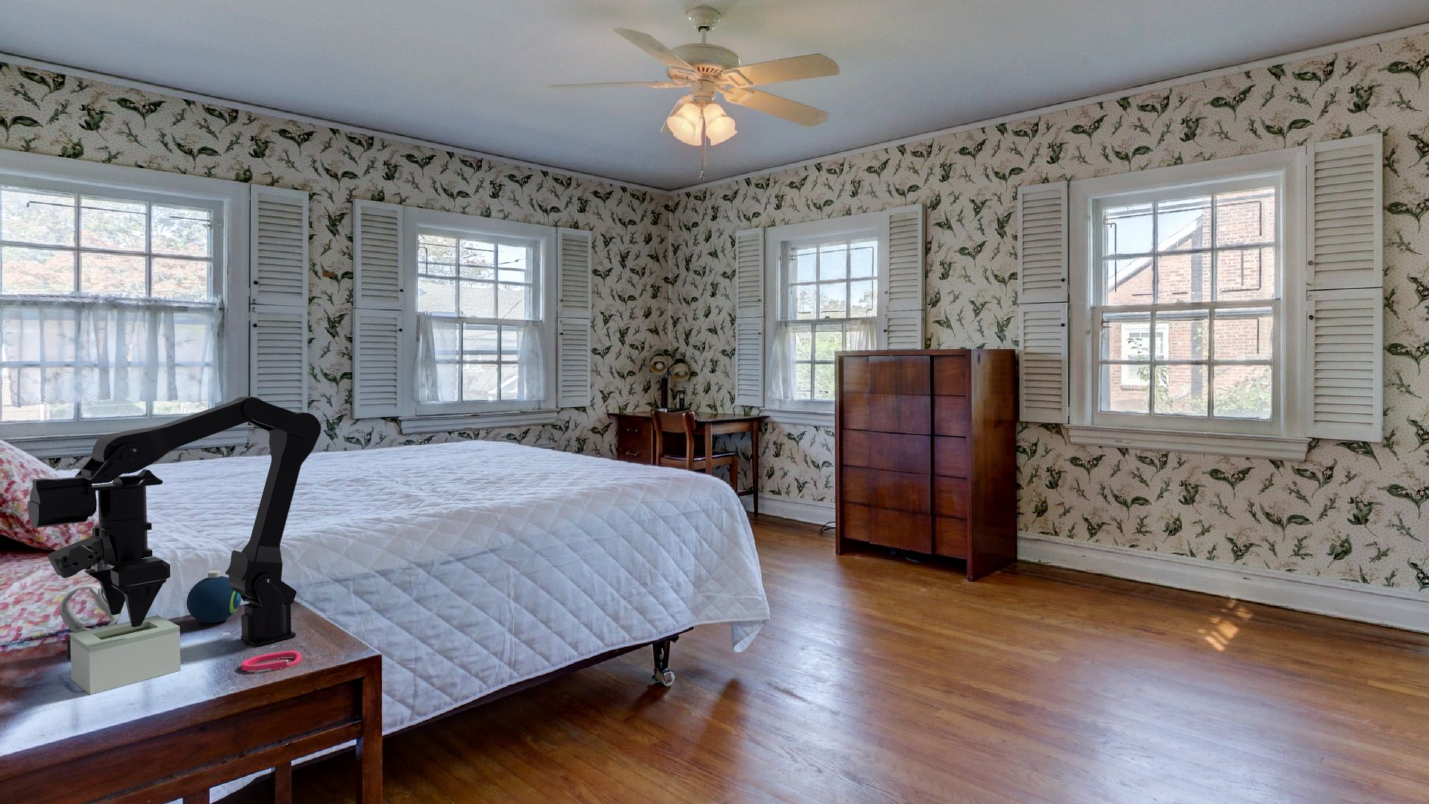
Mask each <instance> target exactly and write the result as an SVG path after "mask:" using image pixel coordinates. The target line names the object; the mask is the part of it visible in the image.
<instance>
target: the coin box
mask: <svg viewBox="0 0 1429 804" xmlns="http://www.w3.org/2000/svg"><path fill="white" fill-rule="evenodd" d="M96 628H97V629H92V630H87V631H83V632H78V633H76V632H72V633H70V634H69V636H70V643H71V659H70V667H71V668H70V670H71V673H70V674H71V681H73V682H74V683H75V684H76V685H78V686H79V687H80V688H82V690H84V691H85V692H87V694H89V695H95V694H98V693H102V692H105V691H110V690H113V689H117V688H120V687H124V686H128V685H132V684H136V683H138V682H139V683H140V682H142V681H147V680H151V679H153V678H157V677H161V676H165V675H170V674H173V673H176V672H181V670H182V668H181V667H182V666H181V637H180V636H181V631H180V630H181V628H180V625H178V624H176V623H174V622H171V621H170V620H168V619H166V618H164V617H162V616H160V615H154V616H150V617H149V616H148V617H145V619H144V621H143V623H142V625H141V626H138V627H132V626H131V623H130V620H129V621H126V622H120V623H117V624H116V623H115V624H114V625H111V626H108V625H107V626H102V627H101V626H100V627H96Z"/></svg>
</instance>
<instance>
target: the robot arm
mask: <svg viewBox="0 0 1429 804" xmlns="http://www.w3.org/2000/svg"><path fill="white" fill-rule="evenodd" d="M246 423H249V424H251V425H253V426H256V427H257V428H259V429H262V430H264V431H267V432H269V439H268V446H269V450H270V457H271V460H270V465H269V468H268V472H267V476H266V480H265V483H264V486H263V490H262V494H261V498H260V501H259V505H258V509H257V512H256V515H255V520H254V523H253V526H252V530H251V533H250V534H251V535H250V537H249V541H248V542H247V543H246V545H245V546H244V548H243V549H242V550H241V551H239V550H235V549H234V550H232V551H231V554H230V564H229V565H228V568H227V570H225V572H224V573H225V575H228V583H229V585H230V587H231V588H232V589H233V590H234V591H235V592H237V593H239V594H240V596H241V601H243V602H245V604H244V605H243V606H244V613H243V614H241V621H240V622H241V624H240V625H241V636H240V639H241V640H243V641H245V642H246V643H249V644H251V645H252V646H255V647H259V646H263V645H267V644H271V643H274V642H278V641H282V640H283V641H284V640H285V639H290V638H293V637H294V638H295V637H296V636H297V632H295V631H293V630H292V604H294V602H295V598H296V595H297V592H298V591H297V590H296V589H295V588H294V587H291V586H290V585H289V584H287V583H286V582H284V581H283V580H282V578H283V567H284V565H283V564H284V562H283V557H282V553H281V552H282V551H281V542H282V539H283V536H284V532H285V529H286V523H287V520H288V516H289V513H290V509H291V505H292V501H293V498H294V495H295V494H294V493H295V490H296V486H297V483H298V480H299V475H300V472H301V471H300V470H301V467H302V466H303V464H304V462H306V460H307V459H308V457H309V456H310V454H311V453H312V452H313V450H314V449H315V447H316V444H317V442H318V441H319V438H320V436H321V433H322V423H321V422H320V421H319V419H318V417H316V416H315V415H314V414H312V413H310V412H304V411H303V412H301V411H292V410H289V409H287V408H284V407H280V406H277V405H275V404H272V403H269V402H267V401H264V400H262V399H260V397H257V396H256V397H255V396H245V395H243V396H239V397H236V398H234V399H233V400H232V401H229V402H225V403H222V404H220V405H217V406H214V407H211V408H208V409H205V410H203V411H199V412H196V413H193V414H190V415H188V416H187V415H186V416H185V417H182V418H179V419H176V420H173V421H168V422H167V423H164V424H161V425H156V426H150V427H143V428H136V429H130V430H124V431H119V432H112V433H108V434H105V435H103V436H101V437H100V438H98V439H96V441H95V444H94V446H93V448H92V451H91V452H92V453H91V455H92V456H91V457H90V458H89V459H88V460H87V461H86V462H85V464H84V465H83V466H82V467H81V468H80V470H78V472H77V473H76V474H75V475H74V476H73V477H72V476H71V477H61V478H60V477H59V478H45V477H44V478H34V479H33V480H32V488H31V489H30V490H31V491H30V494H29V500H27V512H28V518H29V522H30V526H31V527H32V528H33V529H39V528H40V529H41V528H48V527H49V528H50V527H56V526H63V525H73V524H80V523H81V524H82V523H86V522H87V521H88V518H89V517H94V515H95V514H96V512H97V507H98V512H97V513H98V514H97V515H98V524H95V525H94V527H92V528H91V536H90V537H86V538H84V539H82V540H78V541H76V542H74V543H72V544H68V545H66V546H64V547H62V548H59V549H57V550H54V551H52V552H50V553H49V554H47V556H46V557H47V559H48V560H49V562H50V565H51V566H52V568H53V570H54V572H55V574H56V575H57V576H60V577H61V578H63V579H68V578H71V577H73V576H75V575H77V574H78V573H79V572H81V571H84V573H85V574H87V575H89V576H90V577H92V578H93V579H95V580H97V582H99V583H98V584H100V585H101V588H102V591H103V593H104V596H105V599H106V602H107V605H108V608H109V610H110V613H111V615H118V614H120V613H122V612H123V609H124V607H123V605H124V606H125V605H126V609H127V610H126V611H127V614H128V618H129V621H130V623H131V626H132V627H138V626H141V625H142V623H143V621H144V619H145V618H147V617H146V616H147V615H148V613H149V611H150V609H151V607H152V605H153V603H154V602H155V599H156V597H157V596H158V593H159V592H160V591H161V588H162V587H163V585H164V584H165V583H166V582H167V579H169V578H171V564H170V563H168V562H166V560H164V559H162V558H159V557H156V556H153V549H150V548H149V547H148V546H149V545H148V531H151V530H153V523H152V522H149V521H148V515H147V513H148V511H147V510H148V508H147V487H148V486H159V485H162V484H163V483H164V480H163V479H161V478H159V477H157V476H156V475H155V474H154V473H153V472H152V471H151V469H147V467H149V466H150V465H153V463H156V462H158V461H160V460H161V459H162V458H164V457H165V456H166V455H167V454H169V453H170V452H172V451H174V450H176V449H177V448H179V447H183V446H185V445H189V444H190V443H193V442H197V441H198V440H202V439H205V438H207V437H210V436H212V435H217V434H218V433H221V432H224V431H227V430H229V429H232V428H235V427H237V426H240V425H243V424H246ZM139 471H140V472H139ZM137 472H139V473H138V474H134V475H132V474H133V473H137ZM124 474H125V475H124ZM129 474H131V475H129ZM122 475H123V476H122ZM246 602H247V603H246ZM122 608H123V609H122ZM121 611H122V612H121Z"/></svg>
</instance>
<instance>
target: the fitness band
mask: <svg viewBox="0 0 1429 804" xmlns="http://www.w3.org/2000/svg"><path fill="white" fill-rule="evenodd" d="M281 657H293V658H295V659H294V660H293V661H291V662H289V660H288V659H284V660H279V661H278V659H277V658H281ZM293 658H292V659H293ZM273 659H277V661H274V660H273ZM265 660H270V661H272V662H267V663H262V662H261V661H264V662H266V661H265ZM300 661H301V662H302V654H301V652H300V651H298V650H283V651H278V652H270V653H266V654H261V655H260V654H259V655H255V656H253V657H249V658H246V659H244V660H243V661H242V662H241V670H242V671H247V672H248V671H250V672H251V671H255V672H254V674H260V673H259V672H261V673H264V672H263V671H268V672H273V671H272V670H274V671H276V670H275V669H280V668H285V669H287V668H286V667H289V666H291V665H295V664H297V663H299V662H300ZM258 662H259V663H260V664H259V663H258ZM301 662H300V663H301ZM254 663H256V664H254ZM300 663H299V664H300ZM252 664H253V665H252ZM297 665H298V664H297ZM295 666H296V665H295ZM289 668H290V667H289ZM280 670H281V669H280Z"/></svg>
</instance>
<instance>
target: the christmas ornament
mask: <svg viewBox="0 0 1429 804" xmlns="http://www.w3.org/2000/svg"><path fill="white" fill-rule="evenodd" d="M214 569H215V570H209V571H208V572H207V577H204V578H203V579H201V580H199V581H197V583H195V584H194V585H193V586H192V587H191V589H190V590H189V592H188V594H187V596H186V597H187V598H186V607H187V610H188V613H189V614H190V615H191V617H193V618H194V619H195V620H197V621H198V622H201V623H205V624H217V623H220V622H223V621H226V620H227V619H229V618H230V617H231V616H233V615H234V614H235V613H236V612H237V610H238V609H239V607H240V605H241V601H242V598H241V596H240V594H239V593H237V592H235V591H234V590H233V589H232V588H231V587H230V585H229V583H228V578H229V576H228V577H227V576H224V575H221V570H217V569H216V568H215V567H214ZM216 622H217V623H216Z"/></svg>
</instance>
